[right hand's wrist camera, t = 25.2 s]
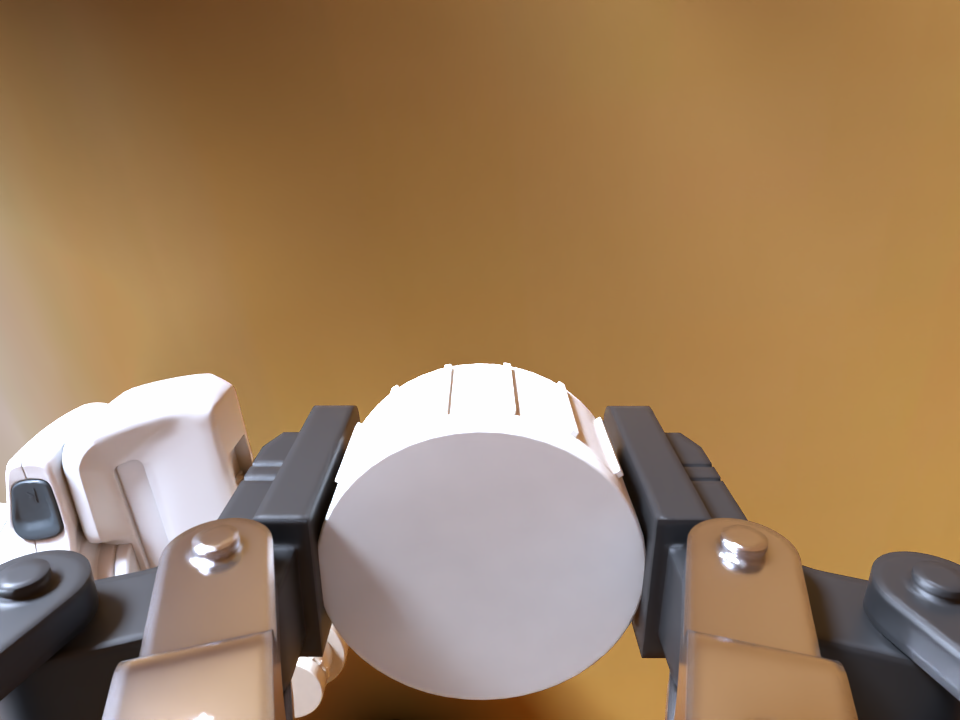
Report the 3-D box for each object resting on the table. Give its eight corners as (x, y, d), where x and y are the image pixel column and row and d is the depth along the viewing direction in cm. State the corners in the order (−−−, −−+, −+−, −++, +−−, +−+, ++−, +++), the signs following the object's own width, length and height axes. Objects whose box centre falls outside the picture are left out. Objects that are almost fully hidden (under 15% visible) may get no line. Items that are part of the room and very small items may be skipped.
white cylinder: (335, 444, 41) (248, 640, 26) (398, 464, 42) (347, 668, 27) (318, 497, 43) (226, 713, 28) (379, 516, 43) (321, 738, 28)
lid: (655, 546, 11) (694, 644, 9) (416, 630, 12) (404, 739, 10) (558, 314, 10) (579, 371, 8) (293, 425, 11) (246, 504, 9)
